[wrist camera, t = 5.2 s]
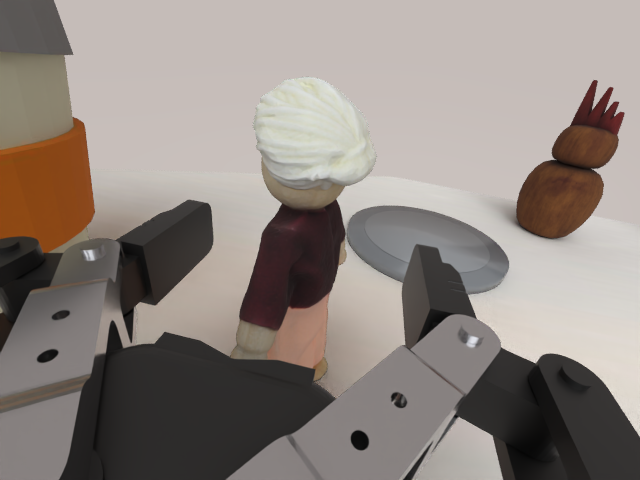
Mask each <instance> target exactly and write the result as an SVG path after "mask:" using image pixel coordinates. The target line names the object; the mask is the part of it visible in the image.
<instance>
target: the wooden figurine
mask: <svg viewBox="0 0 640 480" xmlns="http://www.w3.org/2000/svg"><path fill="white" fill-rule="evenodd" d="M597 82H598V81H597V80H594V81H593V82H592V84H591V86H590V88H589V90H588V91H587V93H586V96H585V97H584V99H583V101H582V103H581V105H580V107H579V109H578V111H577V113H576V115H575V117H574V119H573V121H572V123H571V125H570V127H568V128H566V129H565V130H564V131H563V132H562V133H561V134H560V135H559V136H558V138H557V140H556V141H555V144H554V146H553V148H552V156H553V158H554V159H556V160H550V161H545V162H543V163H541V164H540V165H538V166H537V167H536V168H535V169H534V170H533V171H532V172H531V173H530V174H529V175H528V177H527V179H526V180H525V182H524V184H523V186H522V188H521V190H520V193H519V197H518V201H517V209H516V213H517V219H518V221H519V223H520V224H521V225H522V226H523V227H524V228H525V229H527V230H528V231H530V232H532V233H534V234H537V235H540V236H544V237H548V238H559V237H564V236H567V235H568V234H570V233H572V232H573V231H575V230H576V229H577V228H578V227H580V226H581V225H582V224H583V223H584V222H585V221H586V220H587V219H588V218H589V217H590V216H591V214H592V213H593V211H594V210H595V208H596V207H597V205H598V203H599V201H600V199H601V197H602V195H603V187H604V184H603V181H602V178H601V176H600V175H599V174H598V173H597V172H595V171H594V170H592V169H595V168H600V167H602V166H604V165H605V164H606V163H608V162H609V160H610V159H611V158H612V156H613V155H614V153H615V151H616V149H617V146H618V141H619V139H618V136H617V134H618V131H619V128H620V126H621V123H622V120H623V117H624V112H620V113H618V114H617V115H616V116H614V114H615V112H616V109H617V107H618V104H619V102H614V103H613V104H612V105H611V106H610V107H609V109H608V110H607V111H606V112H605V110H606V107H607V104H608V102H609V99H610V96H611V94H612V91H613V88H612V87H610V88H608V90H607V91H606V93H605V94H604V95H603V97H602V98H601V99H600V101H599V102H598V104H597V105H596V106H595V108H594V109H593V110H592V106H593V101H594V97H595V92H596V87H597ZM591 111H592V112H591ZM604 112H605V113H604Z"/></svg>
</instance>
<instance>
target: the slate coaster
mask: <svg viewBox="0 0 640 480" xmlns="http://www.w3.org/2000/svg"><path fill="white" fill-rule="evenodd" d="M347 238H348V241H349V244H350V246H351V247H352V249H353V250H354V251H355V252H356V253H357V255H358V256H359V257H360V258H362V259H363V260H364V261H365V262H366V263H368V264H369V265H371V266H372V267H373V268H375V269H377V270H378V271H380V272H382V273H383V274H385V275H387V276H390V277H392V278H394V279H396V280H398V281H401V282H403V281H404V277H405V274H406V271H407V268H408V265H409V262H410V259H411V255H412V252H413V249H414V247H415V245H416V244H421V245H426V246H431V247H436V248H438V250H439V253H440V256H441V259H442V262H443V263H448V264H451V265H452V266H453V267H454V268H455V269H456V270H457V271H458V272H459V273H460V276H461V279H462V281H463V285H464V287H465V289H466V293H467V294H475V293H481V292H486V291H489V290H491V289H493V288H495V287H497V286H498V285H499V284H500V283H501V282H502V281H503V279H504V277H505V275H506V273H507V271H508V268H509V261H508V258H507V256H506V254H505V252H504V251H503V250H502V249H501V247H500V246H499V245H498V244H497V243H496V242H495V241H493V240H492V239H491V238H490V237H488V236H487V235H485V234H484V233H482V232H481V231H479V230H477V229H476V228H474V227H472V226H470V225H468V224H466V223H463V222H461V221H459V220H456V219H454V218H451V217H448V216H445V215H443V214H439V213H436V212H432V211H428V210H423V209H418V208H412V207H404V206H377V207H371V208H367V209H364V210H361V211H359V212H357V213H356V214H355V215H353V216H352V218H351V219H350V221H349V224H348V230H347Z"/></svg>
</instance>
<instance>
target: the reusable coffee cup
mask: <svg viewBox="0 0 640 480" xmlns="http://www.w3.org/2000/svg"><path fill="white" fill-rule="evenodd" d="M64 55H73V52H72V49H71V47H70V44H69V41H68V38H67V36H66V33H65V30H64V28H63V25H62V22H61V19H60V16H59V14H58V11H57V8H56V5H55V3H54V0H0V239H3V238H8V237H17V236H27V237H33V238H35V239H37V240H38V241H39V244H40V246H41V248H42V251H43V253H64V251H65V250H66V249H68V248H69V247H71V246H72V245H74V244H77V243H79V242H82V241H86V240H89V238H88V231H87V225H88V224H89V223H90V222H91V220H92V218H93V215H94V213H95V209H94V200H93V192H92V183H91V175H90V167H89V158H88V150H87V141H86V132H85V126H84V123H83V122H81V121H80V120H78V119H77V118H74V117H72V110H71V102H70V95H69V87H68V81H67V72H66V65H65V57H64ZM2 312H3V311H2V309H1V307H0V313H2Z"/></svg>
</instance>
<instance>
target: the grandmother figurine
mask: <svg viewBox="0 0 640 480" xmlns="http://www.w3.org/2000/svg"><path fill="white" fill-rule="evenodd" d="M253 128H254V130H255V133H256V138H257V141H258V142H257V145H256V148H257V149H258V150H259V151H260V152H261V154H262V174H263V178H264V181H265V184H266V186H267V188H268V190H269V191H270V193H271V194H272V195H273V196H274V197H275V198H276V199H277V200H279V201H280V202H281V203H282V205H281V206H280V208H279V211H278V212H277V214H276V215H275V217H274V218H273V219H272V220H271V221H270V222H269V223H268V225H267V227H266V228H265V229H264V231H263V233H262V237H261V243H260V247H259V252H258V256H257V259H256V263H255V265H254V269H253V273H252V276H251V279H250V283H249V286H248V289H247V292H246V294H245V297H244V299H243V302H242V305H241V309H240V315H239V317H240V323H239V326H238V330H237V335H236V341H237V346H236V347H235V348H234V350H233V351H232V353H231V356H230V357H231V358H234V359H261V360H280V361H284V362H288V363H292V364H296V365H300V366H304V367H308V368H312V369H316V371H315V377H314V381H316V380H319V379H320V378H321V377H322V376H323V375H324V374H325V372H326V370H327V362H326V359H325V358H324V357H323V356H324V351H325V344H326V329H327V318H328V309H327V303H328V298H329V294H330V291H331V289H332V287H333V283H334V281H335V277H336V274H337V269H338V266H339V265H341V264H343V263H344V262H345V260H346V250H345V228H344V225H343V221H342V215H341V210H340V207H339V204H338V202H337V200H336V198H337V197H338V196H339V195H340V193H341V192H342V190H343V189H344V187H345V186H348V185H352V184H355V183H357V182H360V181H361V180H363V179H364V178H365V177H366V176H367V175H368V174H369V173H370V172H371V171H372V169H373V167H374V165H375V162H376V157H377V156H376V152H375V149H374V146H373V144H372V141H371V139H370V133H369V130H368V123H367V120H366V118H365V116H364V115H363V114H362V113H361V112H360V111H359V110H358V109H357V108H356V107H355V105H354V104H353V103H352V102H351V101H350V100H349V99H348V98H347V97H346V96H345V95H344V94H343V93H342V92H341V91H340V90H338V89H337V88H335V87H333V86H332V85H331V84H329V83H328V82H326V81H323V80H321V79H318V78H312V77H301V78H297V79H288V80H285V81H283V82H282V83H281V84H280V85H279V86H277V87H275V88H274V89H273V90H272V91H271V92H269V93H267V94H266V95H264V96H262V97H261V100H260V104H258V106H257V107H256V115H255V120H254V123H253Z"/></svg>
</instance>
